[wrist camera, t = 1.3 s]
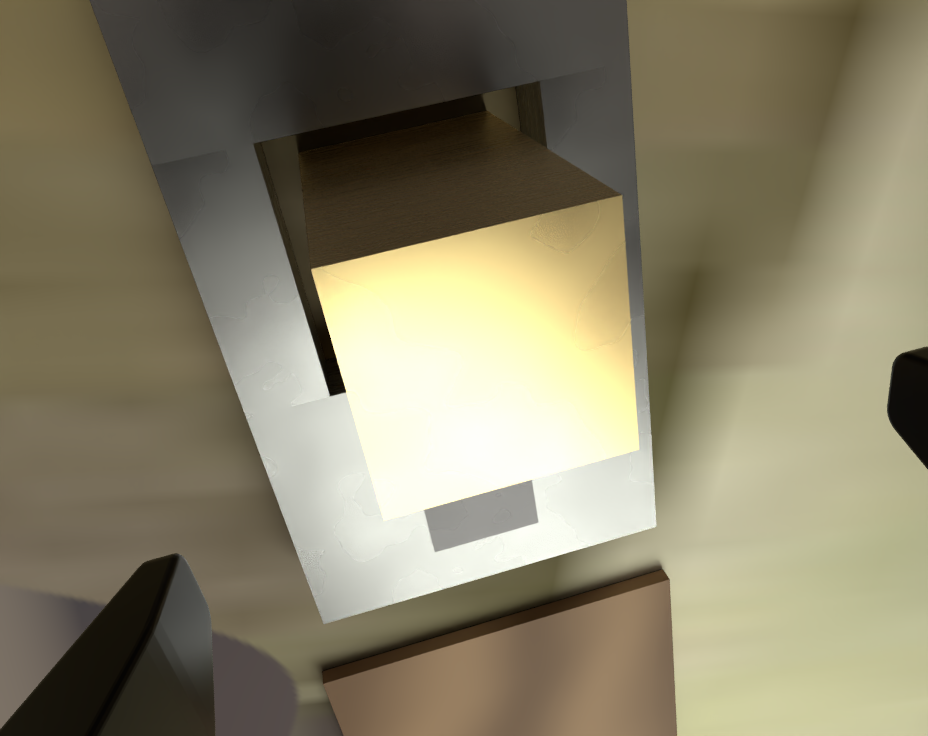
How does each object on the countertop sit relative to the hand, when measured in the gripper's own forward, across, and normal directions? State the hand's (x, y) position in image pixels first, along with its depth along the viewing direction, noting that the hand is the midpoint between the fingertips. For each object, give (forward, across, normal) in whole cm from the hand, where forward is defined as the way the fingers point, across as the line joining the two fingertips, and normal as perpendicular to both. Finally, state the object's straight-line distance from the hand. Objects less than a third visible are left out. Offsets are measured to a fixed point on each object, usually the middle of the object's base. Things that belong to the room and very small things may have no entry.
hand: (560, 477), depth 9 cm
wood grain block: (+11, 0, 0) cm, 11 cm away
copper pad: (+11, 0, +20) cm, 23 cm away
